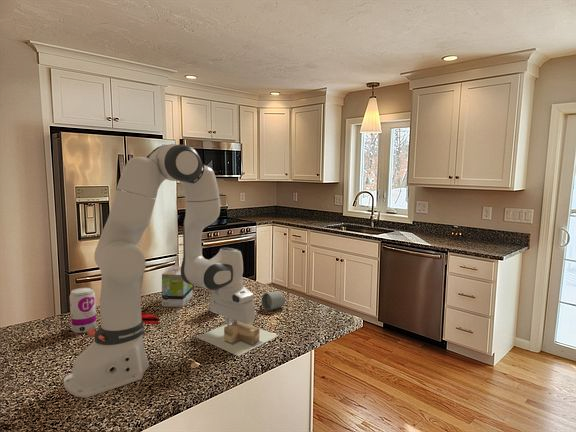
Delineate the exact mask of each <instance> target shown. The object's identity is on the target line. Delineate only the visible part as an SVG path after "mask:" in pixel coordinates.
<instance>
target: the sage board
mask: <svg viewBox="0 0 576 432" xmlns="http://www.w3.org/2000/svg"><path fill="white" fill-rule="evenodd" d="M226 326H227V323H226V324H225V325H221V326H218V327H217V328H213V329H212V330H210V331H206V332H204V333H202V334H200V335H196V336H195V338H197V339H199V340H201V341H204V342H206V343H208V344H210V345H213V346H215V347H218V348H219V349H222V350H224V351H226V352H228V353H230V354H233V355H235V356H238V357H240V356H241V355H243V354H246V353H247V352H250V351H251V350H253V349H256V348H257V347H259V346H261V345H264V344H265V343H267V342H269V341H271V340H273V339H276V338H277V337H279V336H280V335H278V334H276V333H273V332H270V331H267V330H266V329H262V328H259V327H258V328H259V341H258V342H256V343H254V344H251V343H248V342H246V341H243V340H240V339H238V340H236V341H234V342H229V341H226V340H224V327H226Z"/></svg>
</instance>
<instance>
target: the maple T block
mask: <svg viewBox="0 0 576 432" xmlns="http://www.w3.org/2000/svg"><path fill="white" fill-rule="evenodd" d="M238 339H240V340H243V341H246V342H248V343H251V344H254V343H256V342H258V341H259V327H257V326H254V321H253V322H251V323H249V324H244V323H242V322H239V321H238V322H236V323H234V324H231V325H229V326H226V327H224V340H226V341H229V342H234V341H236V340H238Z"/></svg>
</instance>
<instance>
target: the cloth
mask: <svg viewBox="0 0 576 432" xmlns="http://www.w3.org/2000/svg"><path fill="white" fill-rule="evenodd" d="M141 318H142V320H143V324H147V325H149V324H150V325H160V323H159V321H160V318H159V317H157V316H155V315H154V314H152V313H148V312H143V311H142V310H141ZM158 320H159V321H158Z"/></svg>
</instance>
